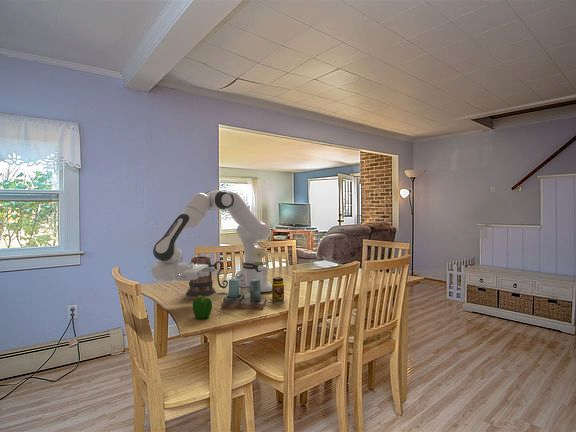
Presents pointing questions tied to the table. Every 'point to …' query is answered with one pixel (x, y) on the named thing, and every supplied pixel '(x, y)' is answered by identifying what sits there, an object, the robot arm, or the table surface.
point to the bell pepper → (202, 307)
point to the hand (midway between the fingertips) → (212, 271)
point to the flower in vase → (259, 254)
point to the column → (234, 288)
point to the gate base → (247, 303)
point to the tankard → (204, 279)
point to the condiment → (277, 291)
